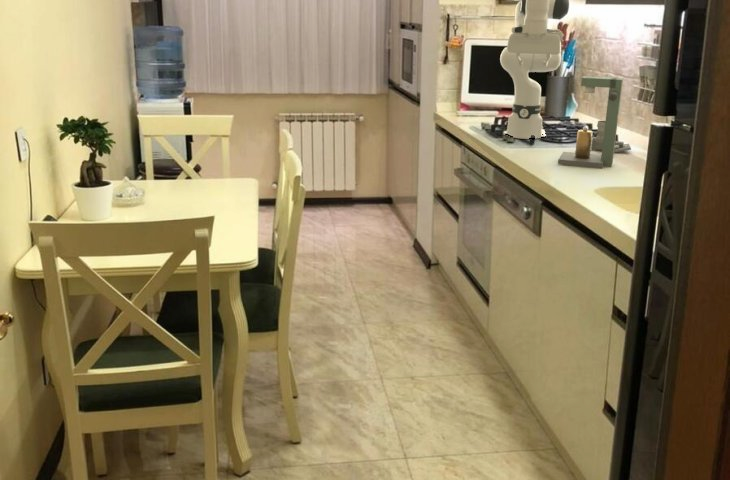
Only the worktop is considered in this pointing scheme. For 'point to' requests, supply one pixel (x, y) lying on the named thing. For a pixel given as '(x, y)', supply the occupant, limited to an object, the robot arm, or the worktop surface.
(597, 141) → the camera
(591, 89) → the press
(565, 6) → the robot arm
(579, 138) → the tan upright block
